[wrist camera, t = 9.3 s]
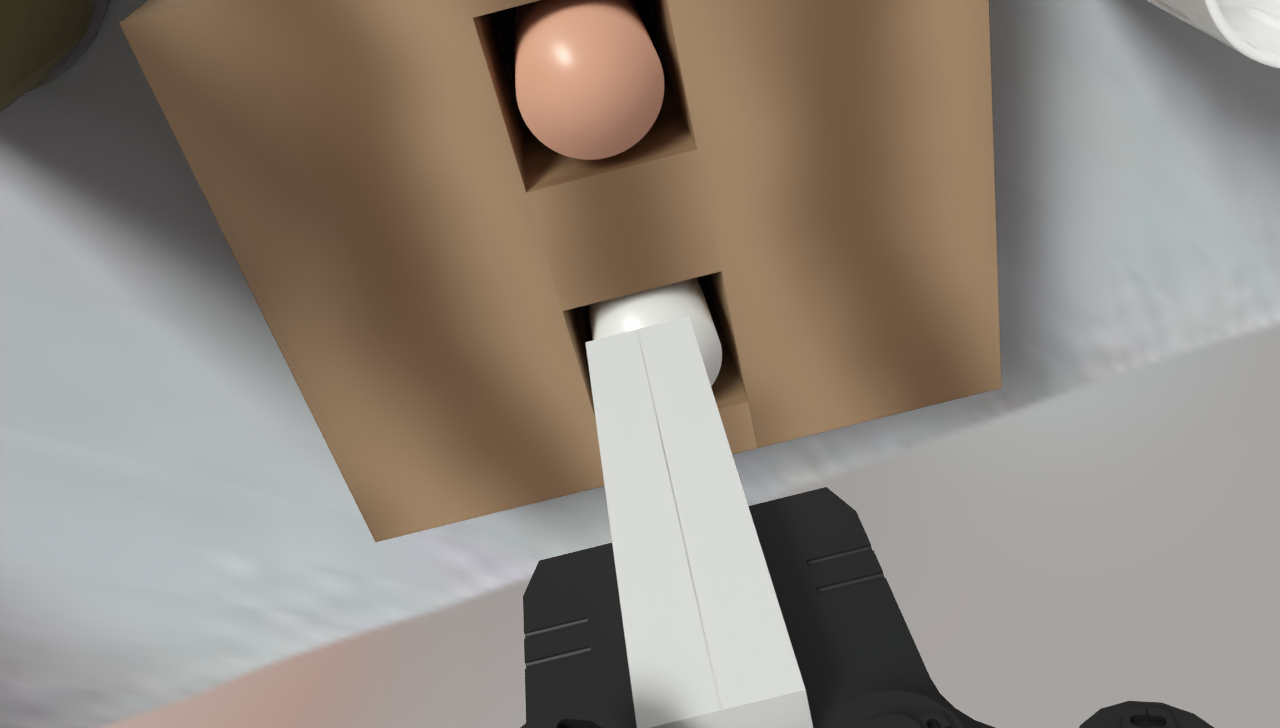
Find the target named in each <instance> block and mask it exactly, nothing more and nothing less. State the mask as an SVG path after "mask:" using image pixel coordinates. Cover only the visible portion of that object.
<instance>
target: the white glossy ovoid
mask: <svg viewBox="0 0 1280 728" xmlns="http://www.w3.org/2000/svg"><path fill="white" fill-rule="evenodd" d="M588 310H589V318H590V325H591V332H592V339H593V340H596V339H600V338H604V337H608V336H612V335H616V334H620V333H624V332H628V331H632V330H636V329H640V328H644V327H648V326H652V325H656V324H660V323H664V322H668V321H672V320H676V319H680V318H684V317H688V316H689V318H690V321H691V324H692V327H693V330H694V334H695V337H696V340H697V343H698V346H699V350H700V353H701V356H702V359H703V362H704V366H705V369H706V372H707V375H708V378H709V382H710V385H711V386H712V385H713V383H714V382H715V380H716V378H717V376H718V374H719V371H720V368H721V362H722V349H721V344H720V341H719V337H718V335H717V332H716V329H715V326H714V323H713V320H712V317H711V314H710V311H709V308H708V305H707V303H706V300H705V297H704V294H703V291H702V288H701V285H700V282H699V279H698V277H696V278H692V279H688V280H684V281H680V282H677V283H673V284H669V285H665V286H661V287H657V288H653V289H649V290H645V291H641V292H637V293H633V294H629V295H625V296H621V297H617V298H613V299H609V300H605V301H601V302H597V303H593V304H589V305H588Z"/></svg>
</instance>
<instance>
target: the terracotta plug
mask: <svg viewBox="0 0 1280 728" xmlns="http://www.w3.org/2000/svg"><path fill="white" fill-rule="evenodd" d="M514 49H515V82H516V98H517V102H518V107H519V110H520V112H521V115H522V117H523V119H524V121H525V123H526V125H527V126H528V128H529V129H530V131H531V132H532V133H533V134H534V135H535V136H536V138H537V139H538V140H539V141H541V142H542V143H543V144H544V145H545V146H547V147H549V148H550V149H552V150H553V151H555V152H557V153H560V154H562V155H565V156H568V157H571V158H576V159H584V160H595V159H603V158H608V157H611V156H614V155H617V154H619V153H622V152H624V151H626V150H627V149H629V148H630V147H632V146H634V145H635V144H636V143H637V142H638V141H640V140H641V139H642V138H643V137H644V136H645V135H646V134H647V132H648V131H649V130H650V128H651V127H652V126H653V124H654V122H655V120H656V119H657V117H658V114H659V112H660V109H661V106H662V102H663V96H664V75H663V69H662V66H661V62H660V59H659V57H658V55H657V52H656V50H655V48H654V46H653V44H652V41H651V39H650V37H649V35H648V32H647V30H646V28H645V26H644V24H643V21H642V19H641V17H640V15H639V12H638V10H637V8H636V6H635V4H634V1H633V0H539V1H536V2H532V3H528V4H524V5H520V6H518V8H517V11H516V15H515V21H514Z"/></svg>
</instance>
